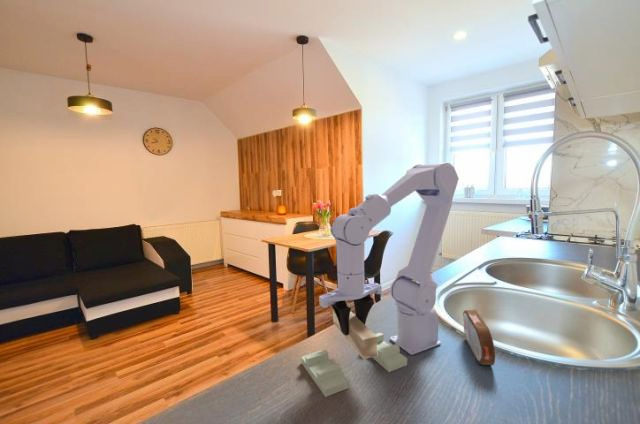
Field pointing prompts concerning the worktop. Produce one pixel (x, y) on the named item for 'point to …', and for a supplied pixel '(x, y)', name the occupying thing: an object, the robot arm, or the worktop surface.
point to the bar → (359, 336)
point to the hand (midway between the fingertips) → (352, 330)
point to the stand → (331, 375)
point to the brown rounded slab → (479, 337)
